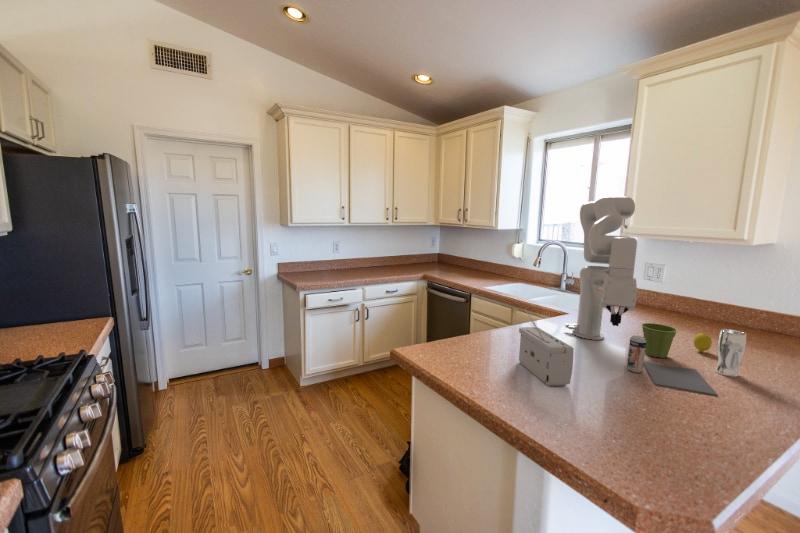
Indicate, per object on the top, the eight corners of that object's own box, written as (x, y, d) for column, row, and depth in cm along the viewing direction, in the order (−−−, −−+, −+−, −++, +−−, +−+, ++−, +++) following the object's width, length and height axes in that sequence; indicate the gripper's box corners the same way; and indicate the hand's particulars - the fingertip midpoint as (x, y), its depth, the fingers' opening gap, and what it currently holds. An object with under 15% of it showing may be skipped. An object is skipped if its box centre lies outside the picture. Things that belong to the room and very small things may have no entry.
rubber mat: (654, 384, 116) (654, 383, 116) (642, 362, 134) (642, 361, 134) (717, 396, 109) (718, 394, 109) (695, 371, 127) (695, 369, 127)
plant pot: (676, 355, 142) (680, 327, 141) (672, 363, 134) (676, 334, 132) (640, 346, 150) (644, 320, 149) (634, 354, 142) (638, 326, 140)
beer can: (623, 367, 128) (626, 335, 127) (635, 367, 129) (639, 335, 127) (632, 373, 124) (637, 339, 122) (645, 373, 124) (650, 339, 122)
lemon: (713, 355, 143) (716, 335, 142) (697, 353, 144) (700, 334, 143) (704, 350, 149) (707, 331, 148) (689, 348, 150) (692, 330, 149)
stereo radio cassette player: (571, 387, 112) (578, 325, 109) (547, 389, 111) (553, 326, 108) (535, 360, 133) (540, 307, 130) (515, 361, 131) (519, 308, 128)
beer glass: (733, 370, 128) (740, 330, 126) (744, 379, 122) (752, 336, 120) (709, 367, 131) (716, 327, 128) (719, 375, 124) (726, 333, 122)
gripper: (597, 272, 124) (591, 324, 126) (648, 276, 118) (642, 331, 120) (595, 270, 131) (590, 319, 133) (644, 273, 125) (638, 325, 127)
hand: (615, 324), depth 126 cm, fingers closed
